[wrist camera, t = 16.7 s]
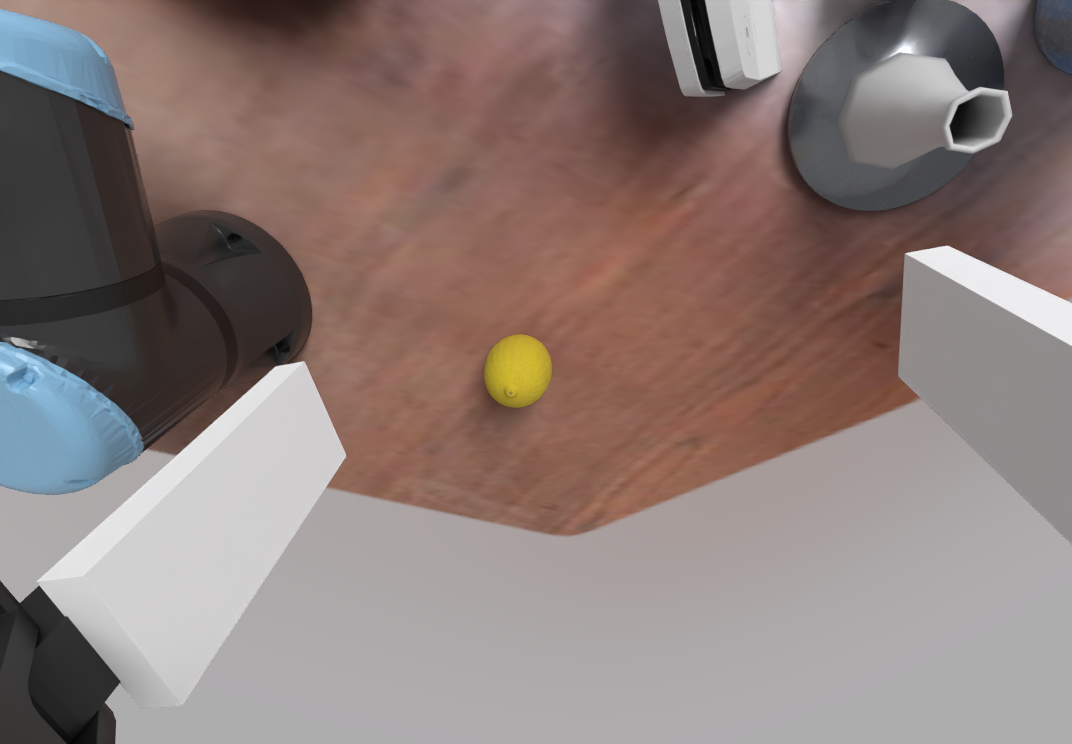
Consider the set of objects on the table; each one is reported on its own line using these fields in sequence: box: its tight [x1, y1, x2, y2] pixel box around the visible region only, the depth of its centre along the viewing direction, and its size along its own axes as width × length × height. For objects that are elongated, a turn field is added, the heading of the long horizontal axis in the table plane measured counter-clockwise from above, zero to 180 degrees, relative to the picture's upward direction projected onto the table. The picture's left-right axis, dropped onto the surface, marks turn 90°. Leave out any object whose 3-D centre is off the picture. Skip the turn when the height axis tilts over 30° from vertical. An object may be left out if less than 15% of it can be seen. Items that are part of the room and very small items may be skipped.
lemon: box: [484, 334, 552, 408], centre depth 47 cm, size 6×6×8 cm
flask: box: [837, 52, 1012, 169], centre depth 34 cm, size 7×7×10 cm
